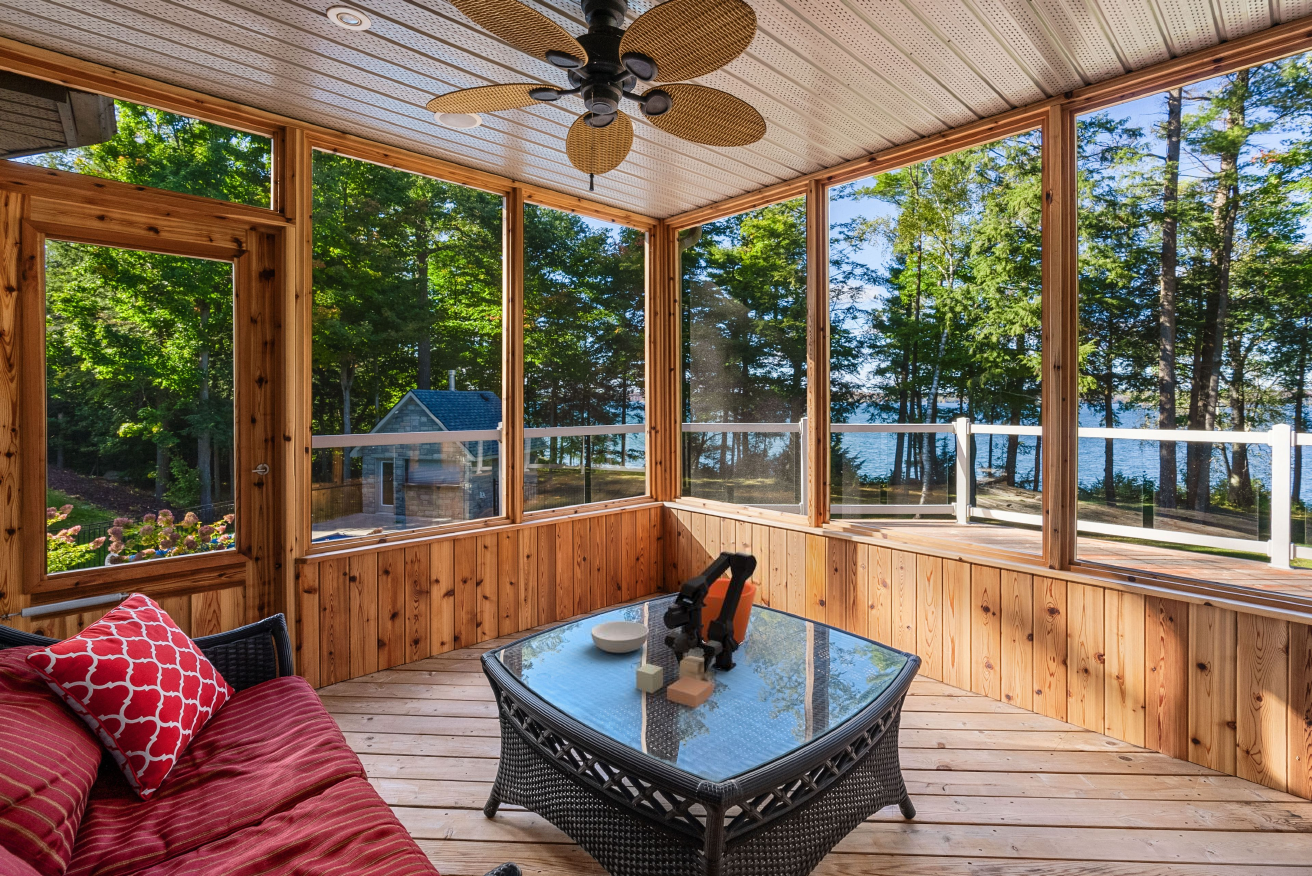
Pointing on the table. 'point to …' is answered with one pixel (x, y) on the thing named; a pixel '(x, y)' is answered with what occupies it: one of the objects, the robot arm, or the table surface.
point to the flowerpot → (715, 605)
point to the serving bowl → (619, 636)
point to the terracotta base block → (689, 691)
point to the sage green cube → (649, 678)
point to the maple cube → (692, 667)
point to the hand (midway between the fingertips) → (692, 669)
